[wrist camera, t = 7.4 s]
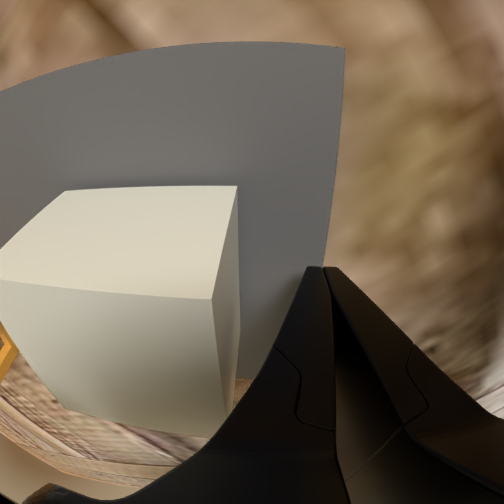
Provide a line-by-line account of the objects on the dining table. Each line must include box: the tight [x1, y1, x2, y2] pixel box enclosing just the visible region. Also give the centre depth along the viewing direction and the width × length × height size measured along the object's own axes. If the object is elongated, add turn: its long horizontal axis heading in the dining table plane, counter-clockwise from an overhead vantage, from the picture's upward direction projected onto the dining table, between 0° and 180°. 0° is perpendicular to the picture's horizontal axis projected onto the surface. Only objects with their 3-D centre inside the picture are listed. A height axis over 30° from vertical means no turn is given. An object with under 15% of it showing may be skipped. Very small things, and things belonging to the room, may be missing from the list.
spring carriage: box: [0, 186, 240, 438], centre depth 7 cm, size 5×5×4 cm
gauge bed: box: [0, 42, 345, 379], centre depth 7 cm, size 20×12×7 cm, turn 90°
